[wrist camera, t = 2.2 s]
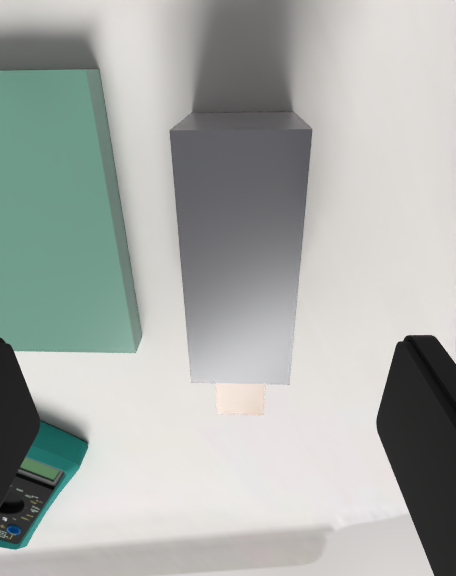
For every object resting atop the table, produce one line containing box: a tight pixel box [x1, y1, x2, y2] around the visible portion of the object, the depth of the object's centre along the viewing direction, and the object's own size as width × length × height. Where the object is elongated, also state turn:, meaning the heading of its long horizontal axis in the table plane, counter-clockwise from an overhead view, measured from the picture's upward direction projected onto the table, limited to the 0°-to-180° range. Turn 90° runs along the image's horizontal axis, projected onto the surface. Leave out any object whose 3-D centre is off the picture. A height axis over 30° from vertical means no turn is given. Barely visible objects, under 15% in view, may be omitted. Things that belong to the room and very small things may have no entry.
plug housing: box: [170, 112, 312, 415], centre depth 17 cm, size 4×14×6 cm, turn 1°
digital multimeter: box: [0, 421, 88, 549], centre depth 30 cm, size 7×15×3 cm, turn 148°
